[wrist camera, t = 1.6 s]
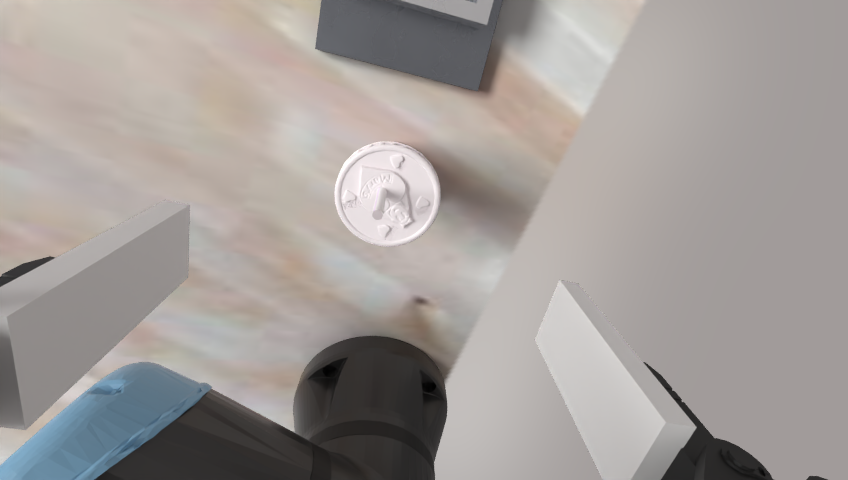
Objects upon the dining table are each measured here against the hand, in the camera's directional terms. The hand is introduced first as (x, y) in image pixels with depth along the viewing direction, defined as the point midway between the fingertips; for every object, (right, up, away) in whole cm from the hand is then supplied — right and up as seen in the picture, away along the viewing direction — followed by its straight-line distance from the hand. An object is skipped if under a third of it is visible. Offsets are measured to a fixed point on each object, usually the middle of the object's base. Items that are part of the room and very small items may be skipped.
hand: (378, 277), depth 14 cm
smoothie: (-1, +8, +19) cm, 20 cm away
